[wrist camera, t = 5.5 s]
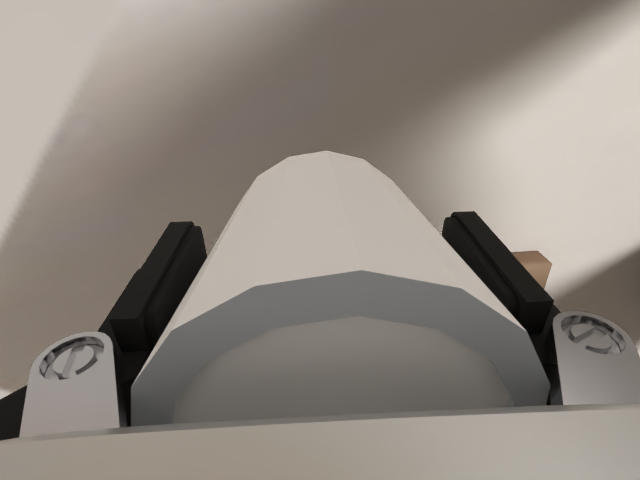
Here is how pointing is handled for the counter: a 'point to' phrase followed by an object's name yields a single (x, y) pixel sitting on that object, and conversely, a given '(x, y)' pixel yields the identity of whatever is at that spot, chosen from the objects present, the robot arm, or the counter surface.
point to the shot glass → (333, 312)
